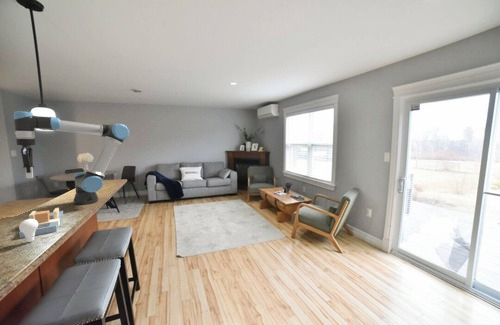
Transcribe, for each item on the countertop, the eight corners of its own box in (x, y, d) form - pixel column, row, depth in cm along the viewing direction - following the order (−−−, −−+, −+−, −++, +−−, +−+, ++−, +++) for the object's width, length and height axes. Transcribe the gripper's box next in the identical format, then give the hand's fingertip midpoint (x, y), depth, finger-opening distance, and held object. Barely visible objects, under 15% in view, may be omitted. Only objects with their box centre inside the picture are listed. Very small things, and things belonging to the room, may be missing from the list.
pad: (27, 228, 110) (26, 223, 110) (60, 223, 118) (59, 217, 117) (24, 232, 106) (23, 226, 105) (58, 226, 113) (58, 221, 113)
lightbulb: (34, 244, 94) (31, 221, 93) (17, 246, 92) (14, 222, 91) (43, 238, 100) (41, 216, 99) (27, 239, 98) (24, 217, 97)
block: (37, 220, 113) (36, 211, 113) (50, 218, 116) (49, 210, 116) (35, 223, 109) (34, 214, 109) (48, 221, 112) (47, 212, 112)
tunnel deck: (33, 219, 122) (32, 208, 121) (63, 215, 129) (62, 204, 129) (19, 238, 99) (18, 224, 99) (56, 231, 107) (55, 218, 106)
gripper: (19, 138, 123) (23, 176, 126) (12, 138, 113) (17, 180, 116) (37, 138, 128) (40, 175, 130) (32, 138, 118) (36, 179, 120)
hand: (29, 177), depth 123 cm, fingers closed
